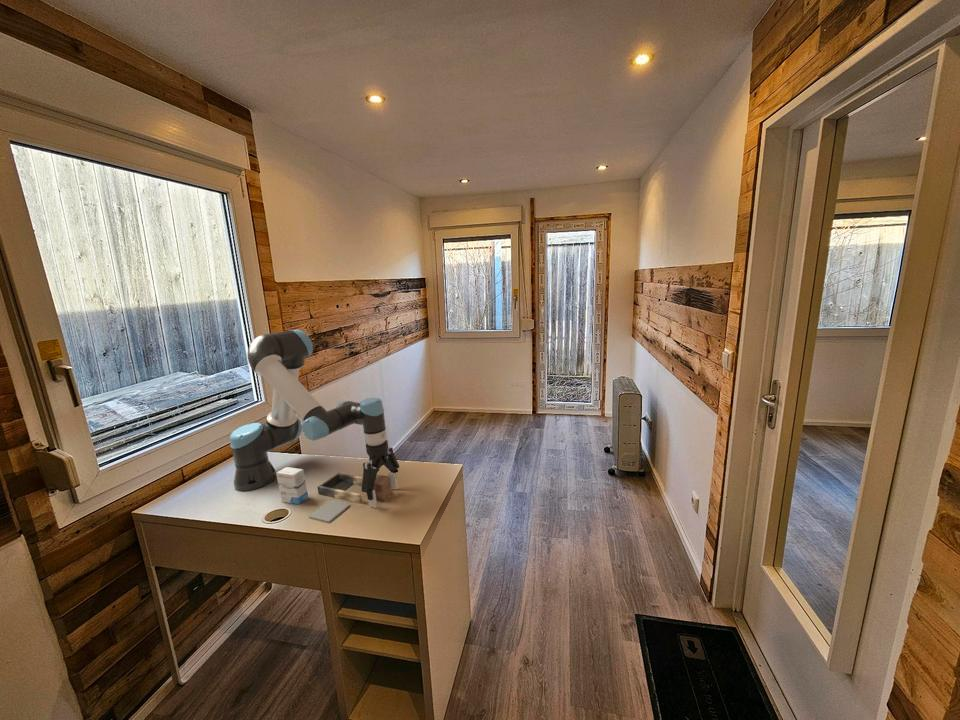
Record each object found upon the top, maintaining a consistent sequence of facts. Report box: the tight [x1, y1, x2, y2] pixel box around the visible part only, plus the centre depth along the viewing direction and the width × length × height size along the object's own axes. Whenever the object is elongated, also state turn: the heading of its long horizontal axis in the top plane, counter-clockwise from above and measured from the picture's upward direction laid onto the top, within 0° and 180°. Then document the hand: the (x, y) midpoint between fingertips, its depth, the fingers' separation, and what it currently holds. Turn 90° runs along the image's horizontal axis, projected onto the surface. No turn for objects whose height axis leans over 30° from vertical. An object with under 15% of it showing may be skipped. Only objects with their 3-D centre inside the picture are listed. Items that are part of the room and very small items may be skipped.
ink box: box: [276, 466, 309, 505], centre depth 139 cm, size 8×5×12 cm, turn 71°
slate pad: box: [308, 499, 351, 524], centre depth 131 cm, size 9×10×1 cm
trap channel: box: [317, 472, 363, 504], centre depth 143 cm, size 20×11×3 cm, turn 67°
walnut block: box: [373, 474, 393, 503], centre depth 137 cm, size 5×6×7 cm
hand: (384, 497), depth 137 cm, fingers open, 11 cm apart
